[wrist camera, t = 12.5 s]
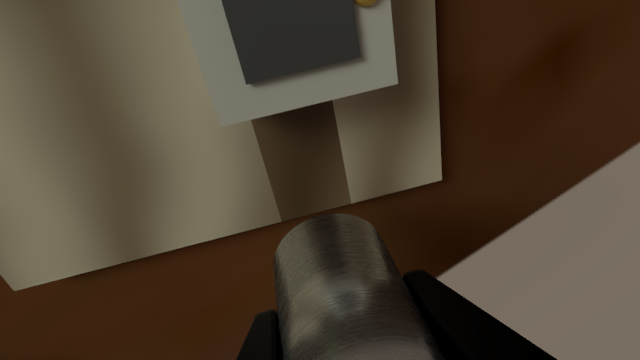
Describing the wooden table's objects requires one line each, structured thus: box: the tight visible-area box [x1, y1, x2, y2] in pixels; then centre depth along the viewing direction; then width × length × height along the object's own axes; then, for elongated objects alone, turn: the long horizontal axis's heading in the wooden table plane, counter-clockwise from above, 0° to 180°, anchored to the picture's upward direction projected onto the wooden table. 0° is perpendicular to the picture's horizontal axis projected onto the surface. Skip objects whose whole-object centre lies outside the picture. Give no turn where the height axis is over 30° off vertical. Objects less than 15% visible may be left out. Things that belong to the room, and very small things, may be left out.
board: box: [0, 0, 442, 291], centre depth 13 cm, size 18×12×2 cm, turn 101°
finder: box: [177, 0, 398, 127], centre depth 10 cm, size 5×5×3 cm
